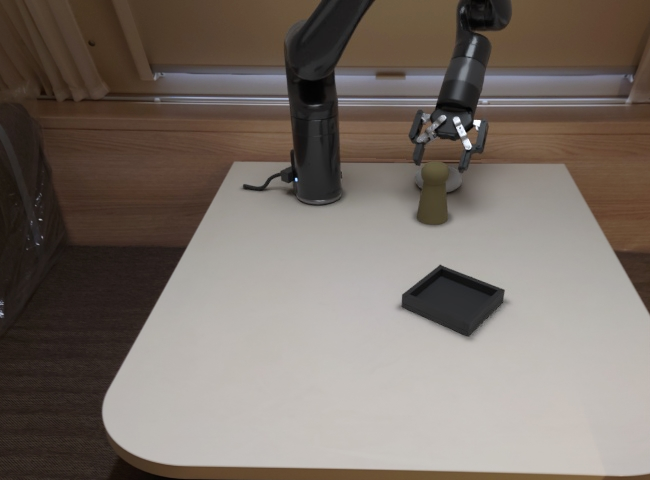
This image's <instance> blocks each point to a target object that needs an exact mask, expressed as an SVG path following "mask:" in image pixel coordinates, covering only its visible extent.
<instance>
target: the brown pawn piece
mask: <svg viewBox="0 0 650 480" xmlns="http://www.w3.org/2000/svg"><path fill="white" fill-rule="evenodd" d="M448 166H449V165H447V163H445V162H443V161H439V160H432V161H427V162H426V163H424V164H423V165H422V167H421V168H422V169H421V168H420V169H421V176H422V179H423V180H424V181H423V186H422V189H421V192H420V196H419V197H420V198H419V203H418V208H417V213H416V219H417V221H419V222H420V223H421V224H425V225H430V226H437V225H443V224H445V223H446V222H448V219H449V214H448V213H449V212H448V198H447V192H446V181H447V179H448V177H449V168H448Z"/></svg>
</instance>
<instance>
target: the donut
mask: <svg viewBox="0 0 650 480" xmlns="http://www.w3.org/2000/svg"><path fill="white" fill-rule="evenodd" d="M447 166H448V168H449V177H448V179H447V181H446V193H450V192H451V193H452V192H454V191H456V190H457V189H458V188H460V186H461V185H462V182H463V176H462V173H459V171H458V168H455V167H453V166H451V165H447ZM421 169H422V167H421V168H419V169H418V170H417V172H416V173H415V176H414V179H415V184H416V185H417V186H418V187H419V188H420V189H421V190H422V186H423V181H424V180H423V179H422V176H421Z"/></svg>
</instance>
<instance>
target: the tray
mask: <svg viewBox="0 0 650 480" xmlns="http://www.w3.org/2000/svg"><path fill="white" fill-rule="evenodd" d="M505 293H506V289H504V288H502V287H498V286H496V285H495V284H494V285H493V284H491V283H489V282H487V281H483V280H481V279H478V278H475V277H473V276H470V275H467V274H465V273H462V272H460V271H457V270H454V269H452V268H449V267H448V266H445V265H442V264H439V265H438V266H436V267H435V268H434V269H433V270H431V271H430V272H429V273H428V274H426V275H425V276H424V277H423V278H421V279H420V280H419V281H417V282H416V283H415V284H414V285H412V286H411V287H410V288H408V289H407V290H406V291H405V292H403V293H402V294H401V308H403V309H405V310H408V311H410V312H412V313H414V314H417V315H419V316H421V317H423V318H426V319H428V320H430V321H433V322H435V323H437V324H439V325H442V326H444V327H446V328H448V329H450V330H452V331H455V332H457V333H459V334H461V335H464V336H466V337H469V336H470V335H472V334H473V332H475V330H476V329H477V328H478V327H480V326H481V324H483V323H484V321H485V320H486V319H487V318H489V316H491V315H492V314H493V312H495V311H496V309H498V307H499V306H501V305H502V304H503V302H504V299H505Z"/></svg>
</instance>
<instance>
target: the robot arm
mask: <svg viewBox="0 0 650 480" xmlns="http://www.w3.org/2000/svg"><path fill="white" fill-rule="evenodd" d="M375 2H376V0H321V1H320V2H319V3H318V4H317V6H316V7H315V8H314V10H313V12H312V13H311V14H310V15H309V16H308V18H303V19H300V20H298V21H296V22H294V23H293V24H292V25H291V26H290V27H289V28H288V29H287V31H286V33H285V36H284V39H283V58H284V67H285V78H286V79H285V80H286V89H287V97H288V104H289V115H290V126H291V138H292V147H293V148H292V149H290V151H289V156H290V164H291V165H290V166H288V167H286V168H283V169H282V170H280V171H279V172H276V173H274V174H272V175H270V176H269V177H268V178H267V179H266V180H265V182H264V183H263V185H261V186H259V185H258V186H255V185H251V184H247V183H243V184H242V188H243V189H249V190H252V191H262V190H266V188H267V187H268V186H269V185H270V183H271V182H272V181H273V180H275V179H276V178H279V177H280V181H281V182H284V183H286V184H290V183H292V189H293V195H295V196H296V198H297V200H299V201H300V202H302V203H304V204H309V205H326V204H331V203H334V202H336V201H338V200H339V199H341V197H342V196H343V189H342V179H343V171H342V165H341V164H342V163H341V140H340V139H341V138H340V136H341V135H340V114H339V111H340V110H339V97H338V96H339V95H338V92H337V85H336V84H337V83H336V67H337V65H338V64H339V62H340V60H341V58H342V57H343V54H344V52H345V50H346V48H347V47H348V45H349V43H350V40H351V39H352V37H353V35H354V33H355V31H356V30H357V28H358V26H359V25H360V23H361V21H362V19H363V18H364V16H365V15H366V14H367V12H368V11H369V10H370V9H371V7H372V6H373V4H375ZM512 16H513V3H512V0H458V2H457V4H456V9H455V25H456V26H455V28H456V29H455V41H454V47H453V50H452V54H451V57H450V60H449V64H448V66H447V68H446V70H445V73H444V76H443V80H442V83H441V86H440V90H439V93H438V96H437V100H436V103H435V106H434V110H433V112H432V113H427V112H424V111H423V110H422V109H418V110H417V111H416V114H415V116H414V119H413V122H412V124H411V127H410V130H409V133H408V139H409V140H410V142H411V144H413V145H415V146H414V150H413V152H412V156H411V158H412V161H413V163H414V164H415V166H417V167H420V166H421V164H422V161H423V158H424V153H425V150H426V146H428V145H429V144H430V143H433V142H434V141H436V140H437V139H438V138H439V140H449V141H452V142H457V141H458V140H460V142H461V144H462V146H463V148H464V150H463V149H462V153H461V156H460V159H459V162H458V166H457V170H458V171H459V173H461V174H464V173H465V172H466V171H467V170H468V169H469V166H470V163H471V158H472V157H473V155H475V154H479V155H480V154H483V153H484V151H485V146H486V143H487V138H488V132H489V127H490V126H489V122H488V118H486V117H483V118H481V119H475V115H476V111H477V108H478V104H479V101H480V97H481V94H482V92H483V88H484V83H485V77H486V72H487V67H488V65H489V60H490V57H491V54H492V48H493V47H492V43H491V40H490V39H489V38H488V37H487V36H486V35H484V34H481V33H484V32H485V33H489V32H491V33H492V32H493V33H494V32H495V33H496V32H501V31H503V30H505V29H506V28H507V27H508V26H509V24H510V22H511V20H512ZM428 122H430V123H431V124H430V125H429V126H428V127H426V128H425V130H424V132H422V129H423V127H424V126H426V125H427V123H428ZM473 128H475V131H476V133H477V137H476V142H475V143H473V144H472V143H471V141H470V139H469V137H468V133H469V132H470V131H471V130H473ZM464 171H465V172H464Z"/></svg>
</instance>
